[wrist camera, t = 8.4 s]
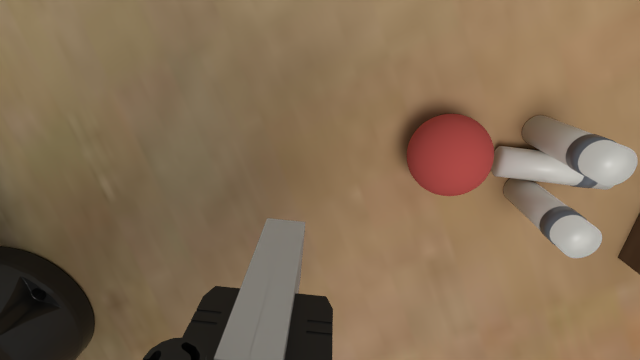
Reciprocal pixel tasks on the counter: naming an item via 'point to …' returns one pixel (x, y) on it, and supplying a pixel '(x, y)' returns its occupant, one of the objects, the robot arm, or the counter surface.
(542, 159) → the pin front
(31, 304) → the robot arm
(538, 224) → the pin
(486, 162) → the ball
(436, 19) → the counter surface
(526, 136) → the pin
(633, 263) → the bar
